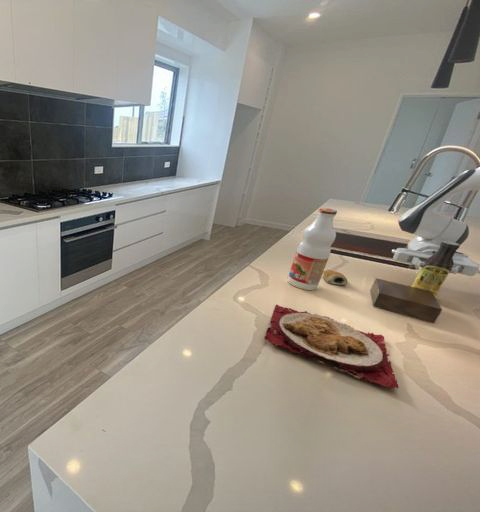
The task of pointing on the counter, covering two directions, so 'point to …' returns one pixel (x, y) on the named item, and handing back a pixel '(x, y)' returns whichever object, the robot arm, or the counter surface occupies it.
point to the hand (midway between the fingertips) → (437, 268)
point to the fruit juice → (313, 251)
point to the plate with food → (332, 344)
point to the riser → (405, 300)
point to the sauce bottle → (436, 268)
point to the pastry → (334, 277)
